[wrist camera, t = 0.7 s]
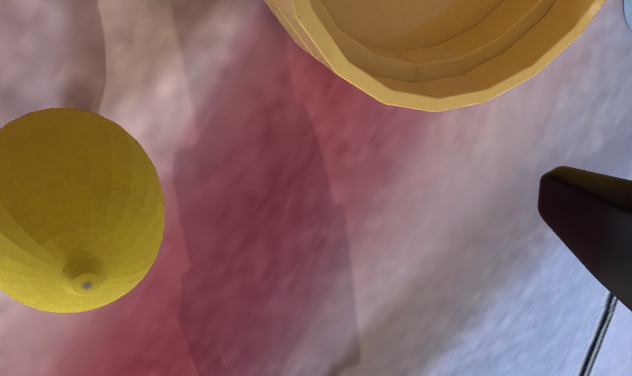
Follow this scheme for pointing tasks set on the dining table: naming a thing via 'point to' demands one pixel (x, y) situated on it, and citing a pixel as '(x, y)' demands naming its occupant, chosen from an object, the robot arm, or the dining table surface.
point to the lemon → (75, 210)
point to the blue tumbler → (628, 12)
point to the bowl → (434, 44)
